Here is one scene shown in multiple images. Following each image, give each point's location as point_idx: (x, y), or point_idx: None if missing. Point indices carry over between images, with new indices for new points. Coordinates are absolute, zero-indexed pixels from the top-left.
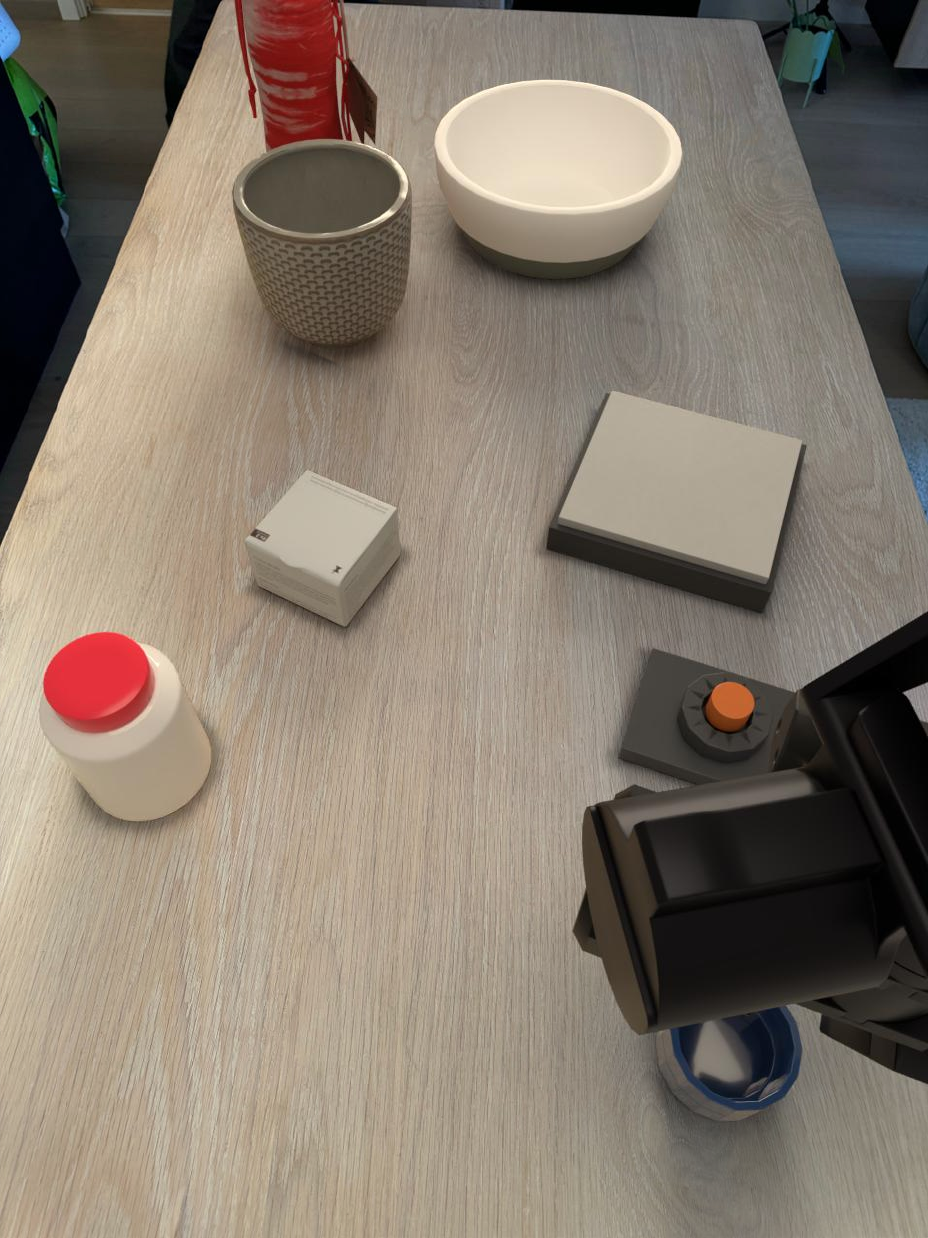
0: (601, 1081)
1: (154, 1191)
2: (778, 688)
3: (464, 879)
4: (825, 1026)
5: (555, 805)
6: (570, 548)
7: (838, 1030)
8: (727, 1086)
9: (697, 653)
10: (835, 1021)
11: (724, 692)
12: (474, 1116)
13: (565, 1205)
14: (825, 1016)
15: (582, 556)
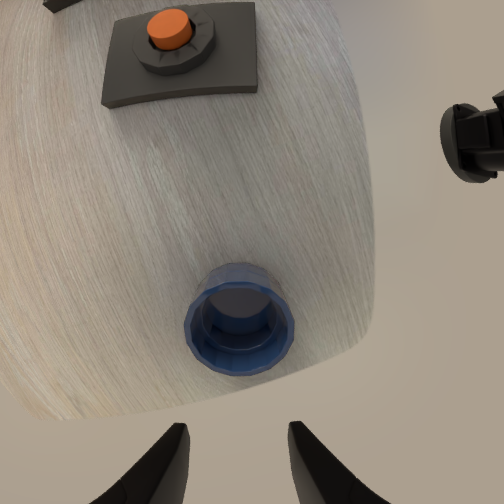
0: (174, 342)
1: (51, 411)
2: (220, 3)
3: (51, 253)
4: (290, 455)
5: (77, 170)
6: (62, 3)
7: (298, 490)
8: (252, 323)
9: (156, 8)
10: (296, 475)
11: (158, 20)
12: (122, 375)
13: (183, 397)
14: (290, 441)
15: (72, 2)
